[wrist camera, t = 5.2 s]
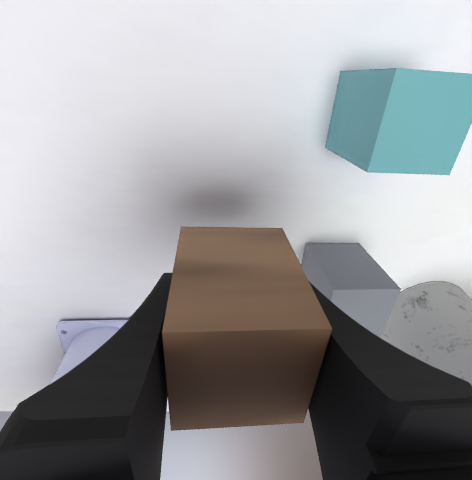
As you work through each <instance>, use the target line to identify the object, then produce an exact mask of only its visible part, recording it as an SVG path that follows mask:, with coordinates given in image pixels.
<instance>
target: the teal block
mask: <svg viewBox="0 0 472 480" xmlns="http://www.w3.org/2000/svg"><path fill="white" fill-rule="evenodd" d="M471 123H472V74H467V73H454V72H440V71H426V70H413V69H399V68H393V69H374V70H356V71H340V76H339V81H338V86H337V91H336V96H335V101H334V106H333V111H332V116H331V121H330V126H329V131H328V136H327V141H326V146H325V148H327V149H329V150H330V151H332V152H334V153H335V154H337V155H339V156H341V157H342V158H344V159H346V160H347V161H349V162H351V163H352V164H354V165H356V166H358V167H359V168H361V169H363V170H364V171H366V172H375V173H405V174H435V175H450V172H451V170H452V168H453V165H454V163H455V161H456V158H457V156H458V154H459V151H460V149H461V147H462V144H463V142H464V139H465V137H466V135H467V132H468V130H469V128H470V125H471Z"/></svg>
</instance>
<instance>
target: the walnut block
mask: <svg viewBox="0 0 472 480" xmlns="http://www.w3.org/2000/svg"><path fill="white" fill-rule="evenodd" d="M331 331H332V327H331V325H330V323H329V321H328V319H327V317H326V315H325V313H324V311H323V309H322V307H321V305H320V303H319V301H318V299H317V297H316V295H315V293H314V291H313V289H312V287H311V285H310V283H309V281H308V279H307V277H306V275H305V273H304V271H303V269H302V267H301V265H300V263H299V261H298V259H297V257H296V255H295V253H294V251H293V249H292V247H291V245H290V243H289V241H288V239H287V237H286V235H285V233H284V231H283V229H282V228H228V227H181V230H180V235H179V241H178V247H177V252H176V258H175V263H174V269H173V274H172V280H171V285H170V291H169V297H168V302H167V308H166V313H165V319H164V324H163V330H162V338H163V349H164V360H165V370H166V381H167V392H168V403H169V414H170V425H171V430H188V429H207V428H223V427H241V426H257V425H273V424H274V425H275V424H292V423H304V420H305V416H306V413H307V410H308V407H309V403H310V400H311V397H312V393H313V390H314V387H315V384H316V380H317V377H318V374H319V370H320V367H321V364H322V361H323V357H324V354H325V351H326V347H327V344H328V341H329V338H330V334H331Z"/></svg>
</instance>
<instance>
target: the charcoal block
mask: <svg viewBox="0 0 472 480" xmlns="http://www.w3.org/2000/svg"><path fill="white" fill-rule="evenodd" d="M301 267H302V269H303V271H304V273H305V275H306V277H307V279H308V281H309V282H311V283H312V284H313V285H314V286H315V287H316V288H317V289H318V290H319V291H320V292H321V293H322V294H323V295H324V296H326V297H327V298H328V299H329V300H330V301H331V302H332V303H334V304H335V305H336V306H337V307H338V308H339V309H341V310H342V311H343V312H344V313H346V314H347V315H348V316H349V317H351V318H352V319H353V320H355V321H356V322H357V323H359V324H360V325H362V326H363V327H365V328H366V329H368V330H369V331H370V332H372V333H373V334H375V335H376V336H378V337H381V335H382V332H383V330H384V328H385V325H386V323H387V320H388V318H389V316H390V313H391V311H392V309H393V306H394V304H395V302H396V299H397V297H398V295H399V292H400V290H401V289H400V288H399V287H398V286H397V284H396V283H395V282H394V281H393V280H392V279H391V278H390V277H389V276H388V275H387V273H386V272H385V271H384V270H383V269H382V268H381V267H380V266H379V265H378V264H377V263H376V261H375V260H374V259H373V258H372V257H371V256H370V255H369V254H368V253H367V252H366V250H365V249H364V248H363V247H362V246H361V245H360V244H359V243H306V245H305V250H304V255H303V260H302V265H301Z"/></svg>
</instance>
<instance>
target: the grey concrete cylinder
mask: <svg viewBox="0 0 472 480" xmlns="http://www.w3.org/2000/svg"><path fill="white" fill-rule="evenodd" d="M380 338H381V339H383V340H385V341H386V342H388V343H390V344H391V345H393V346H395V347H396V348H398V349H400V350H402V351H404V352H405V353H407V354H409V355H411V356H413V357H415V358H417V359H419V360H421V361H423V362H425V363H427V364H429V365H431V366H433V367H435V368H438V369H440V370H442V371H444V372H447V373H449V374H451V375H454V376H456V377H458V378H460V379H463V380H465V381H467V382H469V383H470V384H471V385H472V299H471V298H470V297H469V296H467V295H466V294H465V292H464V291H463V290H462V289H461V288H460V287H458V286H456V285H454V284H452V283H447V282H442V281H440V282H427V283H422V284H418V285H415V286H413V287H410V288H408V289H406V290H404V291H402V292H400V293H399V295H398V297H397V299H396V302H395V304H394V306H393V309H392V311H391V313H390V316H389V318H388V320H387V323H386V325H385V328H384V330H383V332H382V335H381V337H380Z"/></svg>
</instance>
